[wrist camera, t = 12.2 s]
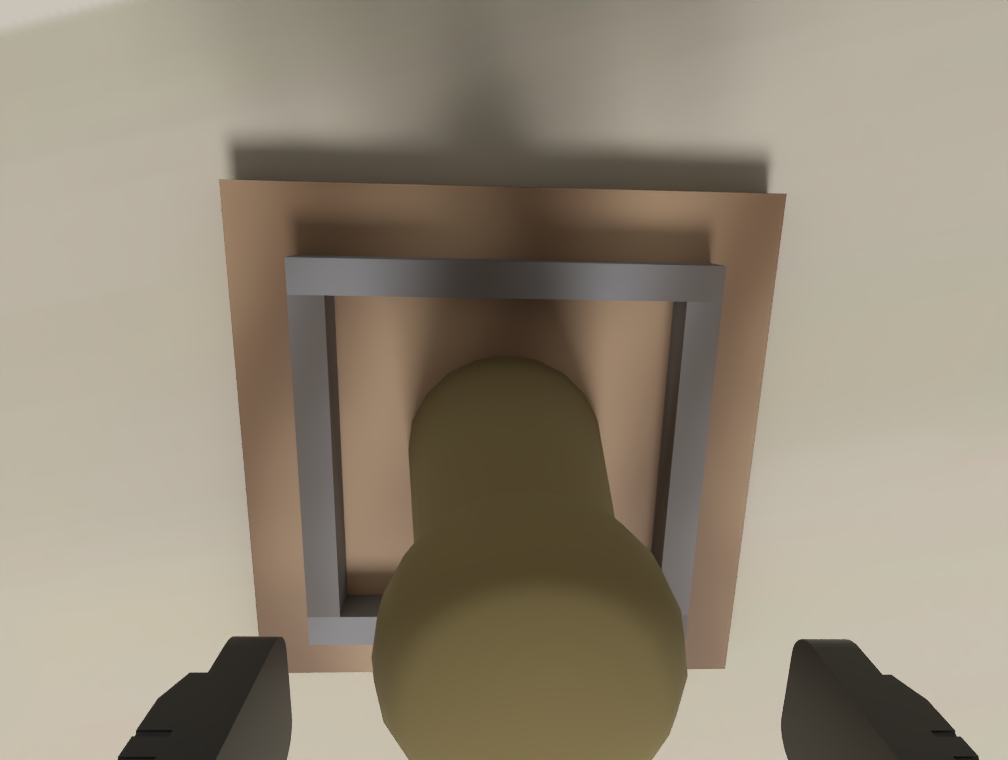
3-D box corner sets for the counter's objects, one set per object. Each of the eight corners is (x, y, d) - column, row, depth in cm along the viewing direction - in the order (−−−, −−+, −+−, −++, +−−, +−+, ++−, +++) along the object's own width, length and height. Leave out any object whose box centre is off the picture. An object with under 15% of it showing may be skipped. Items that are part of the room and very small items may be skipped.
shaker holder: (767, 195, 19) (807, 192, 17) (712, 645, 23) (738, 693, 21) (235, 181, 18) (200, 176, 16) (273, 649, 22) (249, 699, 20)
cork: (385, 507, 20) (277, 840, 9) (441, 329, 19) (392, 479, 8) (562, 558, 21) (653, 921, 10) (629, 390, 19) (818, 602, 9)
